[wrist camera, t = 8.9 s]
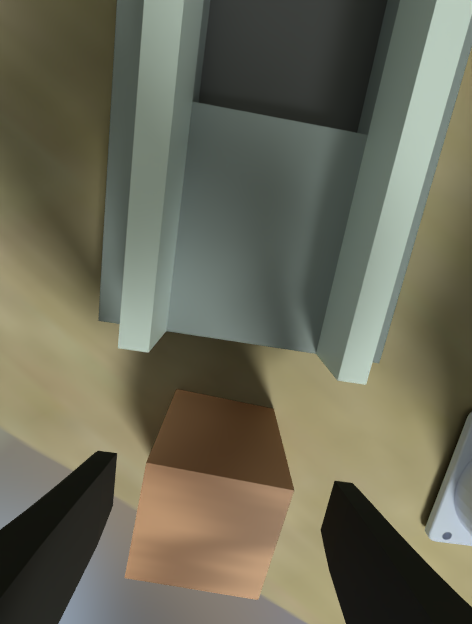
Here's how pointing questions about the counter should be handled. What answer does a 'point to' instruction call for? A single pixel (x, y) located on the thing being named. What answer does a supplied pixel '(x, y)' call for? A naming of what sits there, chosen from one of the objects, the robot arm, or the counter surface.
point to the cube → (211, 498)
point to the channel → (274, 167)
